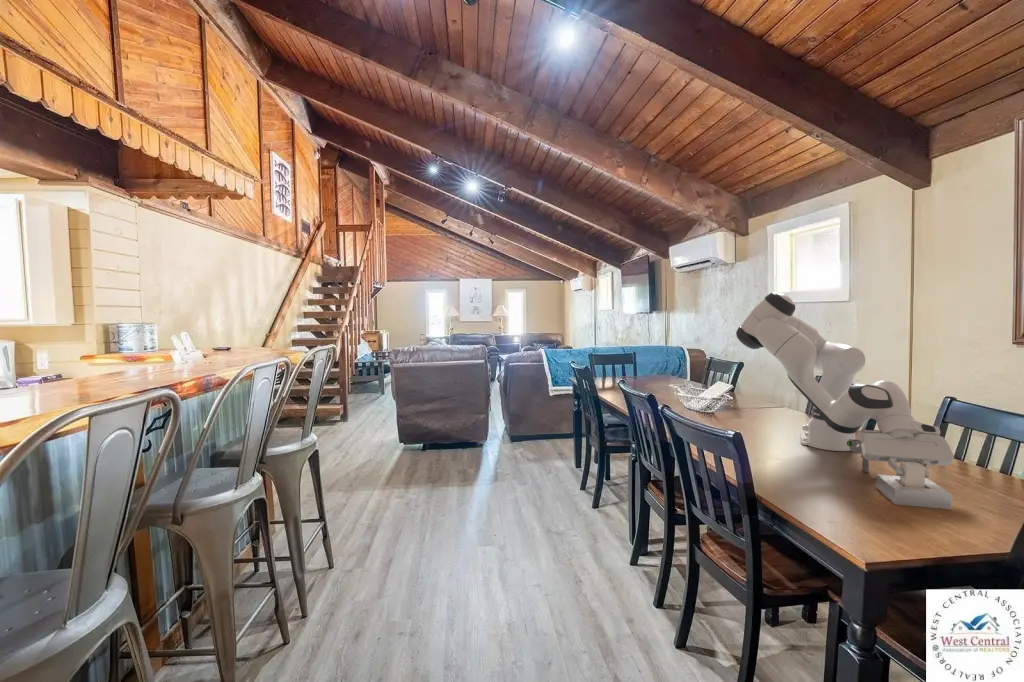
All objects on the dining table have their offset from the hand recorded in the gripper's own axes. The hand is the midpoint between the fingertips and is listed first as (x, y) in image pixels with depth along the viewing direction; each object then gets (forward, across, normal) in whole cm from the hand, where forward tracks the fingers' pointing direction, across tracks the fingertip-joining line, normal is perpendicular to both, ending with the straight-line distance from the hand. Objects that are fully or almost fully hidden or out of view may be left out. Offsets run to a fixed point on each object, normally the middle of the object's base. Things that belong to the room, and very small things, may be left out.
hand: (913, 476), depth 129 cm
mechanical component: (-11, -4, +20) cm, 23 cm away
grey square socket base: (+4, 0, +5) cm, 6 cm away
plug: (+3, 0, +4) cm, 5 cm away
